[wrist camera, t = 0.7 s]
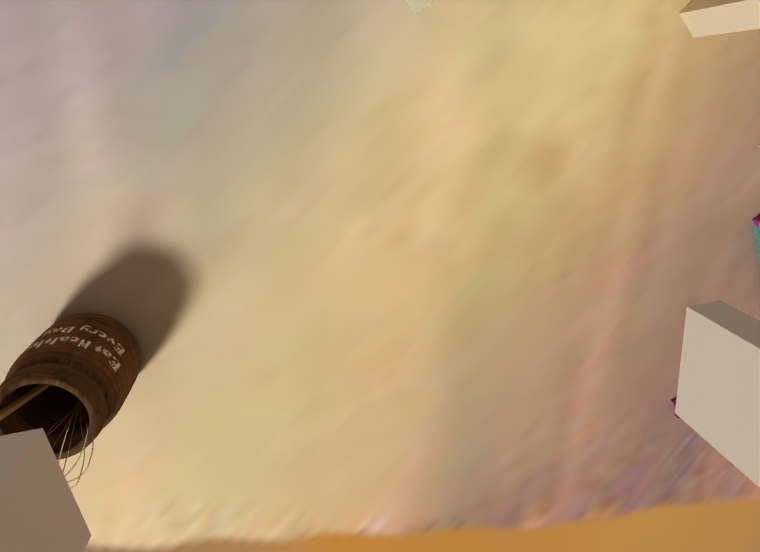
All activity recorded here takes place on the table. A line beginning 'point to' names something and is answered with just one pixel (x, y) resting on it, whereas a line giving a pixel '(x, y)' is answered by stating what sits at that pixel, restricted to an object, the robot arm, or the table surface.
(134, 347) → the utensil holder
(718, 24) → the domino
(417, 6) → the domino
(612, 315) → the table surface
